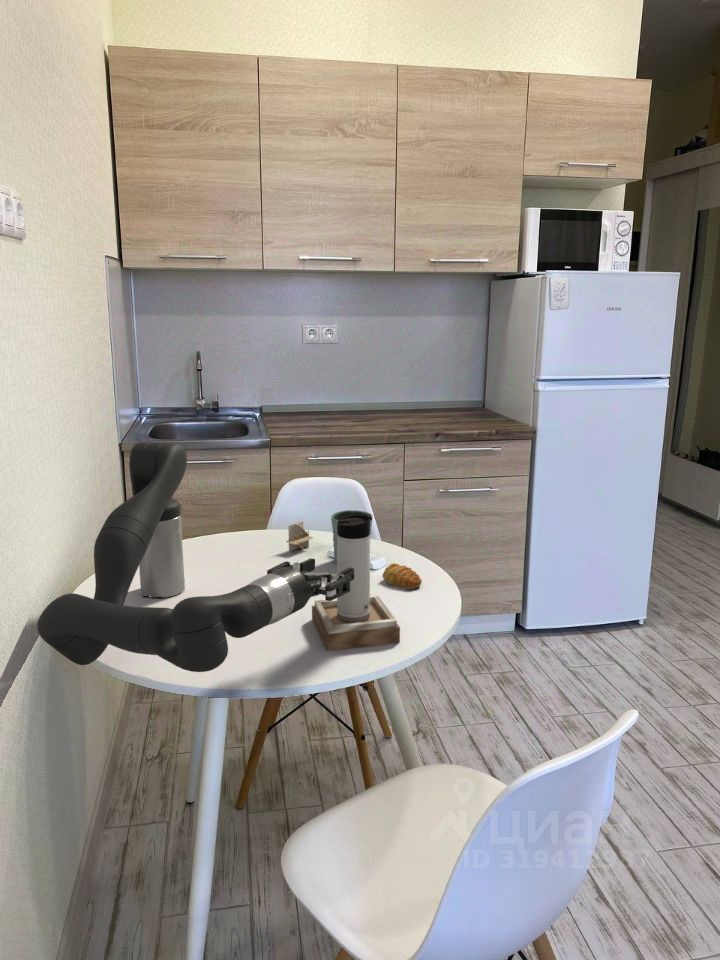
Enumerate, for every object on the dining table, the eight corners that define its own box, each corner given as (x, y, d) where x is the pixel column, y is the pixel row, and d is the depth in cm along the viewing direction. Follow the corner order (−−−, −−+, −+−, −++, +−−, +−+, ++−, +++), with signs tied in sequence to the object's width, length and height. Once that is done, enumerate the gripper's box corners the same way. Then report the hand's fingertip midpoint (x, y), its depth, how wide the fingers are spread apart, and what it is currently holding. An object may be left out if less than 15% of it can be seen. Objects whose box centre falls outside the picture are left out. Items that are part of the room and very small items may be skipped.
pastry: (428, 586, 161) (429, 570, 160) (407, 594, 157) (408, 577, 156) (399, 575, 168) (400, 559, 167) (378, 582, 164) (379, 566, 163)
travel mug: (375, 621, 135) (376, 520, 130) (342, 625, 133) (341, 522, 129) (365, 608, 141) (366, 511, 136) (333, 612, 139) (333, 513, 134)
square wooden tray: (326, 650, 130) (326, 629, 129) (312, 619, 143) (311, 600, 142) (399, 642, 133) (400, 621, 132) (378, 612, 146) (379, 593, 145)
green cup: (367, 554, 182) (367, 509, 179) (376, 567, 172) (377, 520, 169) (328, 556, 180) (327, 511, 177) (335, 570, 170) (335, 522, 167)
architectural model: (313, 550, 186) (313, 523, 184) (295, 557, 181) (294, 529, 179) (303, 547, 188) (303, 520, 186) (285, 554, 183) (285, 526, 181)
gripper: (242, 608, 119) (301, 579, 132) (309, 629, 112) (365, 596, 125) (240, 566, 118) (301, 541, 131) (309, 584, 110) (366, 555, 123)
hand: (332, 568), depth 128 cm, fingers open, 8 cm apart
